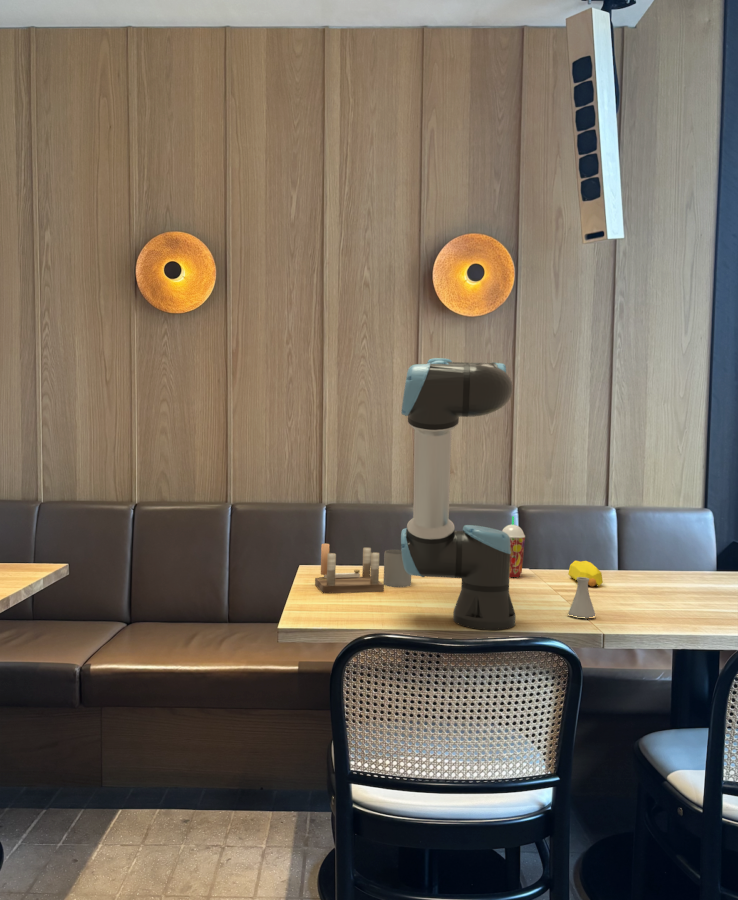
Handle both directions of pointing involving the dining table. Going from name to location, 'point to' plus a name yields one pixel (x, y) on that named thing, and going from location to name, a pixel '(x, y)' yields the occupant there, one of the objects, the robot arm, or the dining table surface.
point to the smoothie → (515, 548)
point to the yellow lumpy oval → (585, 572)
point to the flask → (582, 600)
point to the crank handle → (324, 564)
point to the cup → (395, 570)
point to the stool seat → (352, 583)
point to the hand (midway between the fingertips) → (435, 491)
